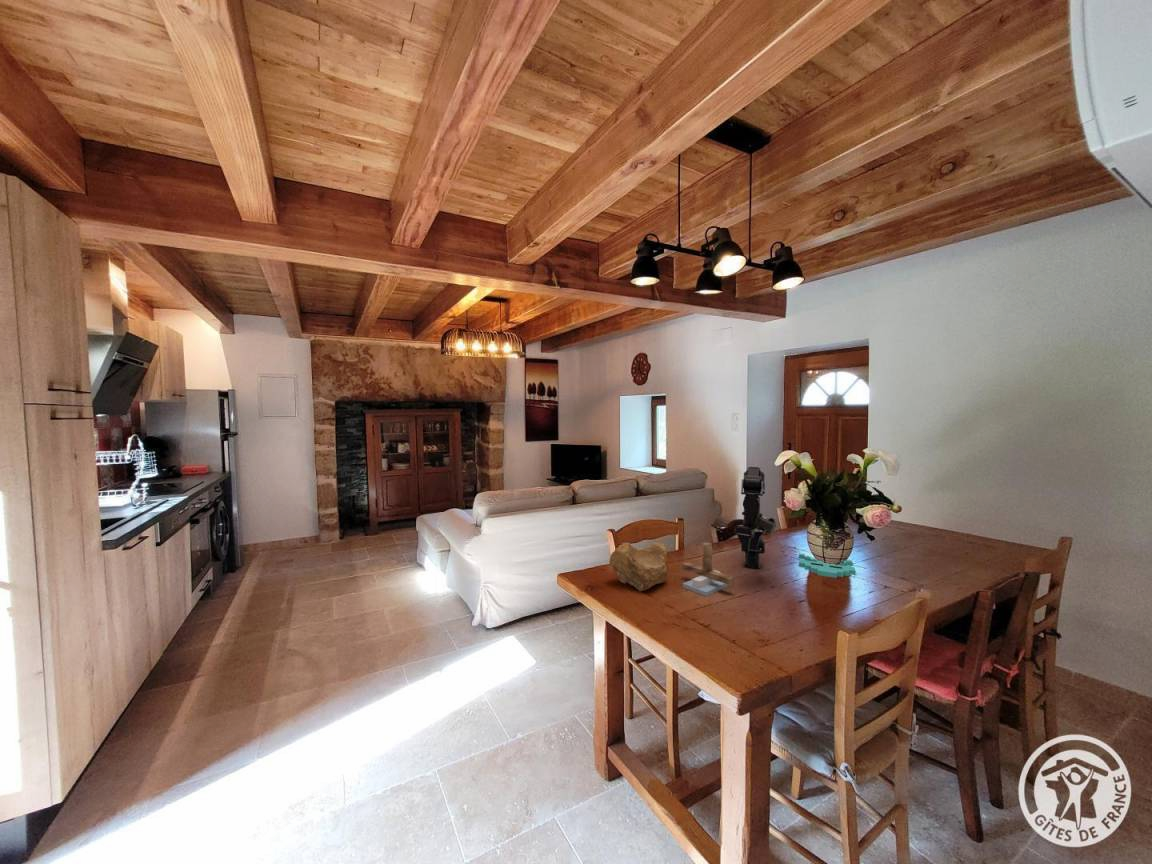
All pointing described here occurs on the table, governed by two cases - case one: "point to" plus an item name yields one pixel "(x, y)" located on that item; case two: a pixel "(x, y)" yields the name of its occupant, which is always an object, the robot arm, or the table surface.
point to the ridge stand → (704, 585)
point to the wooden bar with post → (708, 567)
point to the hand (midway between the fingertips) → (750, 551)
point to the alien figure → (826, 567)
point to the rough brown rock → (640, 565)
